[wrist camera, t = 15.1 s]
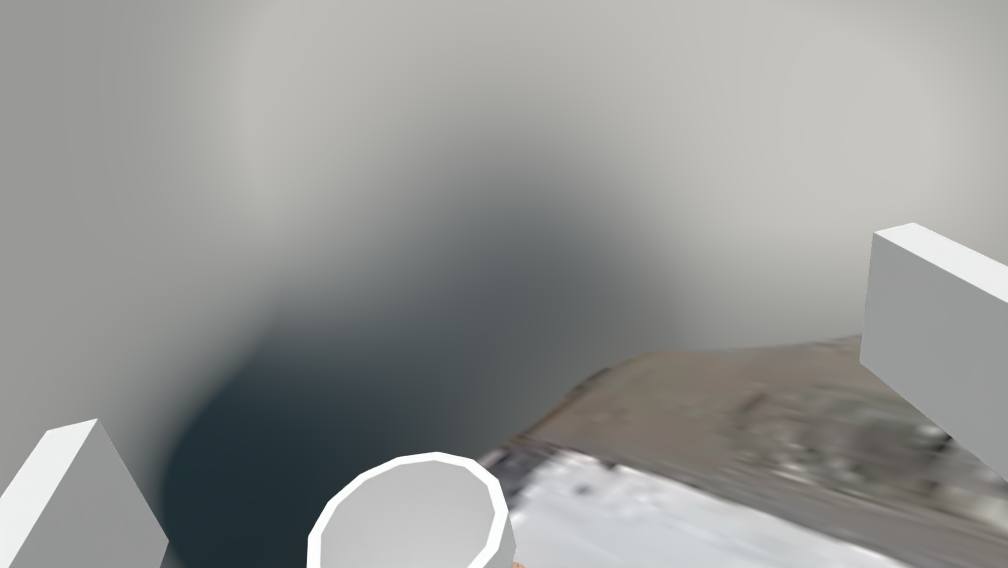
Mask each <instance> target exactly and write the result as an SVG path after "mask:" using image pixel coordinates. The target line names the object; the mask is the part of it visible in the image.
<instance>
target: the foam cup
mask: <svg viewBox="0 0 1008 568" xmlns="http://www.w3.org/2000/svg"><path fill="white" fill-rule="evenodd" d="M515 549H516V544H515V539H514V535H513V530H512V526H511V521H510V517H509V512H508V509H507V506H506V503H505V500H504V497H503V493H502V490H501V487H500V484H499V481H498V479H496V478H495V477H494V476H493V475H491V474H490V473H489V472H488V471H486V470H485V469H484V468H483V467H481V466H480V465H479V464H478V463H476V462H475V461H474V460H473V459H468V458H463V457H459V456H454V455H450V454H445V453H440V452H433V453H426V454H419V455H412V456H403V457H398V458H395V459H393V460H391V461H389V462H387V463H384V464H382V465H380V466H378V467H376V468H373V469H371V470H369V471H367V472H364V473H362V474H360V475H359V476H358V477H357V478H355V479H354V480H353V481H352V482H351V483H350V484H348V485H347V486H346V487H345V488H344V489H343V490H341V491H340V492H339V493H338V494H337V495H336V496H334V497H333V498H332V499H331V500H330V501H329V502H328V503H327V505H326V507H325V509H324V510H323V512H322V514H321V515H320V517H319V519H318V521H317V522H316V524H315V526H314V528H313V529H312V531H311V533H310V535H309V537H308V557H307V568H513V558H514V553H515Z"/></svg>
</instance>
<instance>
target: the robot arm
mask: <svg viewBox="0 0 1008 568" xmlns="http://www.w3.org/2000/svg"><path fill="white" fill-rule="evenodd" d="M859 362H860V363H861V364H862V365H864V366H865V367H866V368H867V369H869V370H870V371H871V372H872V373H874V374H875V375H876V376H877V377H878V378H880V379H881V380H882V381H883V382H885V383H886V384H887V385H888V386H890V387H891V388H892V389H893V390H895V391H896V392H897V393H898V394H900V395H901V396H902V397H903V398H904V399H906V400H907V401H908V402H909V403H911V404H912V405H913V406H914V407H916V408H917V409H918V410H919V411H921V412H922V413H923V414H924V415H926V416H927V417H928V418H929V419H930V420H932V421H933V422H934V423H935V424H937V425H938V426H939V427H940V428H942V429H943V430H944V431H945V432H947V433H948V434H949V435H950V436H951V437H953V438H954V439H955V440H956V441H958V442H959V443H960V444H961V445H963V446H964V447H965V448H966V449H968V450H969V451H970V452H971V453H973V454H974V455H975V456H976V457H977V458H979V459H980V460H981V461H982V462H984V463H985V464H986V465H987V466H989V467H990V468H991V469H992V470H994V471H995V472H996V473H997V474H999V475H1000V476H1001V477H1002V478H1003V479H1005V480H1006V481H1007V482H1008V267H1007V266H1005V265H1003V264H1000V263H999V262H997V261H994V260H992V259H990V258H988V257H986V256H984V255H982V254H980V253H978V252H975V251H973V250H971V249H969V248H967V247H965V246H963V245H961V244H958V243H956V242H954V241H952V240H950V239H948V238H946V237H944V236H941V235H939V234H937V233H935V232H933V231H931V230H929V229H926V228H924V227H922V226H920V225H918V224H916V223H910V224H905V225H902V226H897V227H893V228H889V229H884V230H880V231H876V232H873V241H872V250H871V259H870V268H869V277H868V287H867V297H866V305H865V314H864V324H863V333H862V342H861V351H860V360H859ZM168 542H169V540H168V539H167V537H166V535H165V534H164V532H163V530H162V528H161V527H160V525H159V523H158V521H157V520H156V518H155V516H154V515H153V513H152V511H151V509H150V508H149V506H148V504H147V503H146V501H145V499H144V497H143V496H142V494H141V492H140V490H139V489H138V487H137V485H136V484H135V482H134V480H133V478H132V477H131V475H130V473H129V471H128V470H127V468H126V466H125V464H124V463H123V461H122V460H121V458H120V456H119V454H118V452H117V451H116V449H115V447H114V445H113V444H112V442H111V440H110V439H109V437H108V435H107V433H106V432H105V430H104V428H103V426H102V425H101V423H100V422H99V420H98V419H94V420H90V421H85V422H81V423H78V424H73V425H69V426H65V427H61V428H57V429H52V430H48V431H47V432H46V433H45V434H44V436H43V437H42V439H41V440H40V442H39V443H38V445H37V446H36V447H35V449H34V450H33V452H32V453H31V455H30V456H29V457H28V459H27V460H26V462H25V463H24V465H23V466H22V468H21V469H20V471H19V472H18V473H17V475H16V476H15V478H14V479H13V481H12V482H11V483H10V485H9V486H8V488H7V489H6V491H5V492H4V494H3V495H2V497H1V498H0V568H160V565H161V562H162V559H163V556H164V553H165V550H166V548H167V545H168Z"/></svg>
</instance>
